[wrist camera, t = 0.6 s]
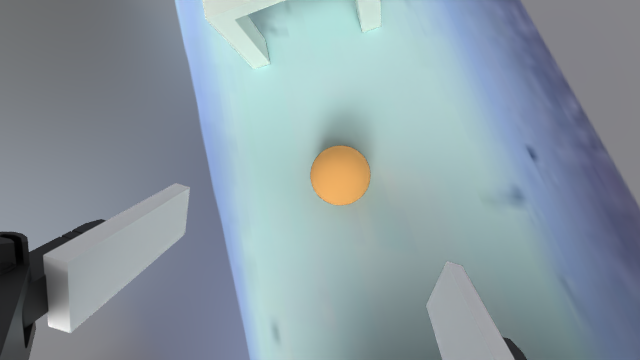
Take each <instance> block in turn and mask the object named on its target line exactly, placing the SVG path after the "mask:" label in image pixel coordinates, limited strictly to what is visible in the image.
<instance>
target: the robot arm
mask: <svg viewBox="0 0 640 360" xmlns="http://www.w3.org/2000/svg"><path fill="white" fill-rule="evenodd" d="M189 191H190V187H187V186H184V185H180V184H177V183H175V184H173V185H171V186H169V187H167V188H166V189H164V190H162V191H160V192H159V193H156V194H155V195H153V196H151V197H149V198H147V199H145V200H144V201H142V202H140V203H138V204H136V205H134V206H133V207H131V208H129V209H127V210H125V211H123V212H122V213H120V214H118V215H116V216H114V217H112V218H111V219H109V220H107V221H105V220H102V219H100V220H96V221H93V222H89V223H85V224H83V225H81V226H79V227H78V228H76V229H74V230H73V231H72V232H71V231H70V232H68V233H66V234H64V235H62V237H58V238H56V239H54V240H52V241H50V242H49V243H46V244H44V245H42V246H40V247H38V248H37V249H35V250H33V251H31V252H29V250H28V240H27V237H26V236H25V235H23V234H21V233H16V232H0V360H28V359H29V356H30V352H31V347H32V343H33V339H34V335H35V330H36V325H35V321H36V320H37V319H39V318H40V317H41V316H43V315H44V314H45V313H47V314H48V326H49V327H53V328H56V329H59V330H62V331H66V332H69V333H71V332H72V331H73V330H75V329H76V328H77V327H78V326H79V325H80V324H82V323H83V322H84V321H85V320H86V319H87V318H88V317H90V316H91V315H92V314H93V313H94V312H95V311H97V310H98V309H99V308H100V307H101V306H102V305H103V304H105V303H106V302H107V301H108V300H109V299H110V298H111V297H113V296H114V295H115V294H116V293H117V292H119V290H121V289H122V288H123V287H124V286H125V285H127V284H128V283H129V282H130V281H131V280H132V279H134V278H135V277H136V276H137V275H138V274H139V273H141V272H142V271H143V270H144V269H145V268H146V267H147V266H149V265H150V264H151V263H152V262H153V261H154V260H155V259H157V258H158V257H159V256H160V255H161V254H162V253H164V252H165V251H166V250H167V249H168V248H169V247H171V246H172V245H173V244H174V243H175V242H176V241H178V240H179V239H180V238H181V237H182V236H183V235H184V234H185V227H186V217H187V209H188V200H189ZM426 307H427V310H428V314H429V317H430V320H431V324H432V327H433V330H434V334H435V337H436V341H437V344H438V347H439V351H440V354H441V357H442V360H527V359H526V358H525V356H524V354H523V353H522V351H521V350H520V349H519V348H518V347H517V346H516V345H515V344H514V343H513V342H512V341H511V340H510V339H508V338H504V337H502V336H501V334H500V332H499V330H498V329H497V327H496V325H495V323H494V322H493V320H492V318H491V316H490V314H489V313H488V311H487V309H486V307H485V306H484V304H483V302H482V300H481V298H480V297H479V295H478V293H477V291H476V289H475V288H474V286H473V284H472V282H471V281H470V279H469V277H468V275H467V273H466V272H465V270H464V268H463V266H462V265H458V264H455V263H451V262H448V261H446V263H445V265H444V268H443V270H442V272H441V274H440V276H439V278H438V281H437V283H436V285H435V287H434V289H433V291H432V293H431V296H430V298H429V300H428V302H427V304H426Z"/></svg>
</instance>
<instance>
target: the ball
mask: <svg viewBox="0 0 640 360" xmlns="http://www.w3.org/2000/svg"><path fill="white" fill-rule="evenodd" d="M369 182H370V168H369V165H368V162H367V160H366V159H365V157H364V156H363V155H362V154H361V153H360V152H359V151H357V150H356V149H354V148H351V147H348V146H341V145H340V146H333V147H330V148H327V149H325V150H324V151H322V152H321V153H320V154H319V155H318V156H317V157H316V159H315V160H314V162H313V165H312V168H311V183H312V186H313V188H314V190H315V192H316V193H317V195H318V196H319V197H320V198H322V199H323V200H324V201H326V202H328V203H330V204H334V205H347V204H350V203H353V202H355V201H357V200H358V199H359V198H361V197H362V196H363V194H364V193H365V192H366V190H367V188H368V186H369Z"/></svg>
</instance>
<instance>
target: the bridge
mask: <svg viewBox="0 0 640 360" xmlns="http://www.w3.org/2000/svg"><path fill="white" fill-rule="evenodd" d="M202 1H203V7H204V13H205V18H206V20H207V21H208V22H209V23H210V24H211V25H212V26H213V27H214V28H215V29H216V30H217V31H218V32H219V33H220V34H221V35H222V37H223V38H224V39H225V40H226V41H227V42H228V43H229V44H230V45H231V46H232V47H233V48H234V49H235V50H236V51H237V52H238V53H239V54H240V55H241V56H242V57H243V58H244V60H245V61H246V62H247V63H248V64H249V65H250V66H251V67H252V68H253V69H256V68H259V67H262V66H265V65H268V64H270V61H269V56H268V51H267V46H266V41H265V39H264V37H263V36H262V34H261V33H260V32H259V30H258V29H257V27H256V26H255V25H254V23H253V22H252V21H251V19H250V18H249V16H248V14H251V13H253V12H256V11H259V10H261V9H264V8H266V7H269V6H272V5H274V4H277V3H280V2H282V1H285V0H202ZM355 5H356V10H357V14H358V17H359V21H360V25H361V29H362V33H363V32H366V31H369V30H372V29H375V28H378V27H381V1H380V0H355Z"/></svg>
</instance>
